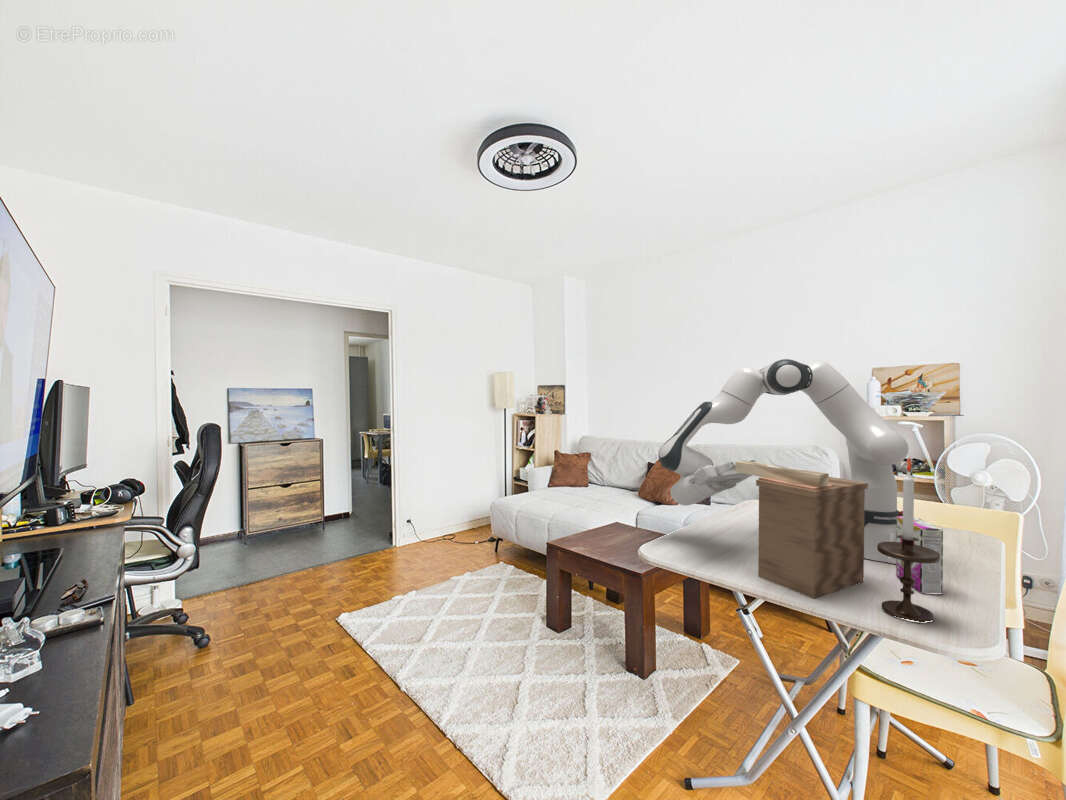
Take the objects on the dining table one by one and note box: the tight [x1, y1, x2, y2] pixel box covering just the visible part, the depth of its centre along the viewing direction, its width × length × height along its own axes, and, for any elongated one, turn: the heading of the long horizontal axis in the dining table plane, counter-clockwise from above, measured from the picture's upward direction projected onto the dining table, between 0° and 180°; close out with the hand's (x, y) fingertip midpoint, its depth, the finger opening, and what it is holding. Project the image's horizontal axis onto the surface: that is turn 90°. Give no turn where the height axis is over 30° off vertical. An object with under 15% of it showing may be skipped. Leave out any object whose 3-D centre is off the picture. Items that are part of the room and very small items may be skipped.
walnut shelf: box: [755, 476, 868, 600], centre depth 122 cm, size 22×16×26 cm
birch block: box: [734, 460, 830, 487], centre depth 124 cm, size 4×24×3 cm, turn 27°
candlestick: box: [878, 457, 940, 622], centre depth 103 cm, size 11×11×35 cm
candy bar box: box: [895, 516, 944, 594], centre depth 118 cm, size 11×5×16 cm, turn 168°
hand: (743, 463), depth 133 cm, fingers open, 8 cm apart
